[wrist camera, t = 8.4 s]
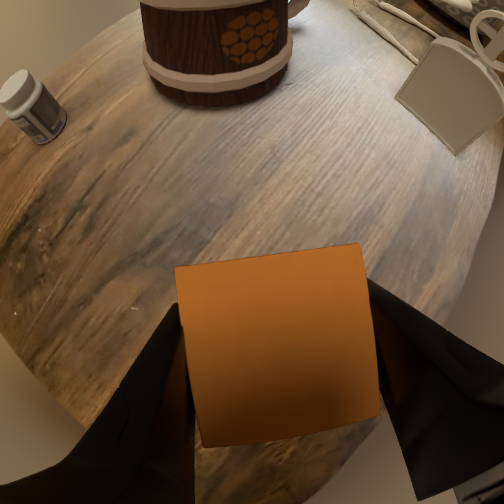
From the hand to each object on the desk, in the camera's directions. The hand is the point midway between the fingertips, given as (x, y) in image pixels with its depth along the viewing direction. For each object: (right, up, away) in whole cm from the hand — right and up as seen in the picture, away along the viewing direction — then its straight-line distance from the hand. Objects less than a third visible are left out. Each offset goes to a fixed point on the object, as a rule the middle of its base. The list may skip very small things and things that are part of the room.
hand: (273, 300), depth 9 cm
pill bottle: (-23, +15, +16) cm, 32 cm away
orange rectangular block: (0, -3, +6) cm, 7 cm away
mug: (-2, +23, +18) cm, 30 cm away
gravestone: (+19, +16, +18) cm, 31 cm away
